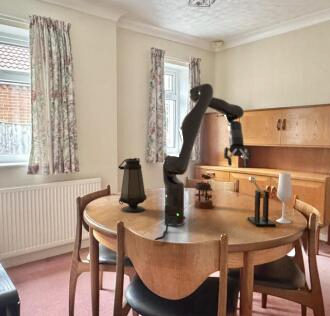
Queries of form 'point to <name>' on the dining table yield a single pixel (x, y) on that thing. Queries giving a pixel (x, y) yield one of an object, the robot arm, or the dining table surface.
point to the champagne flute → (284, 193)
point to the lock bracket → (263, 220)
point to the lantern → (132, 186)
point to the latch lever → (262, 193)
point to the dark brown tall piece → (203, 187)
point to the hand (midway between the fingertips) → (238, 165)
